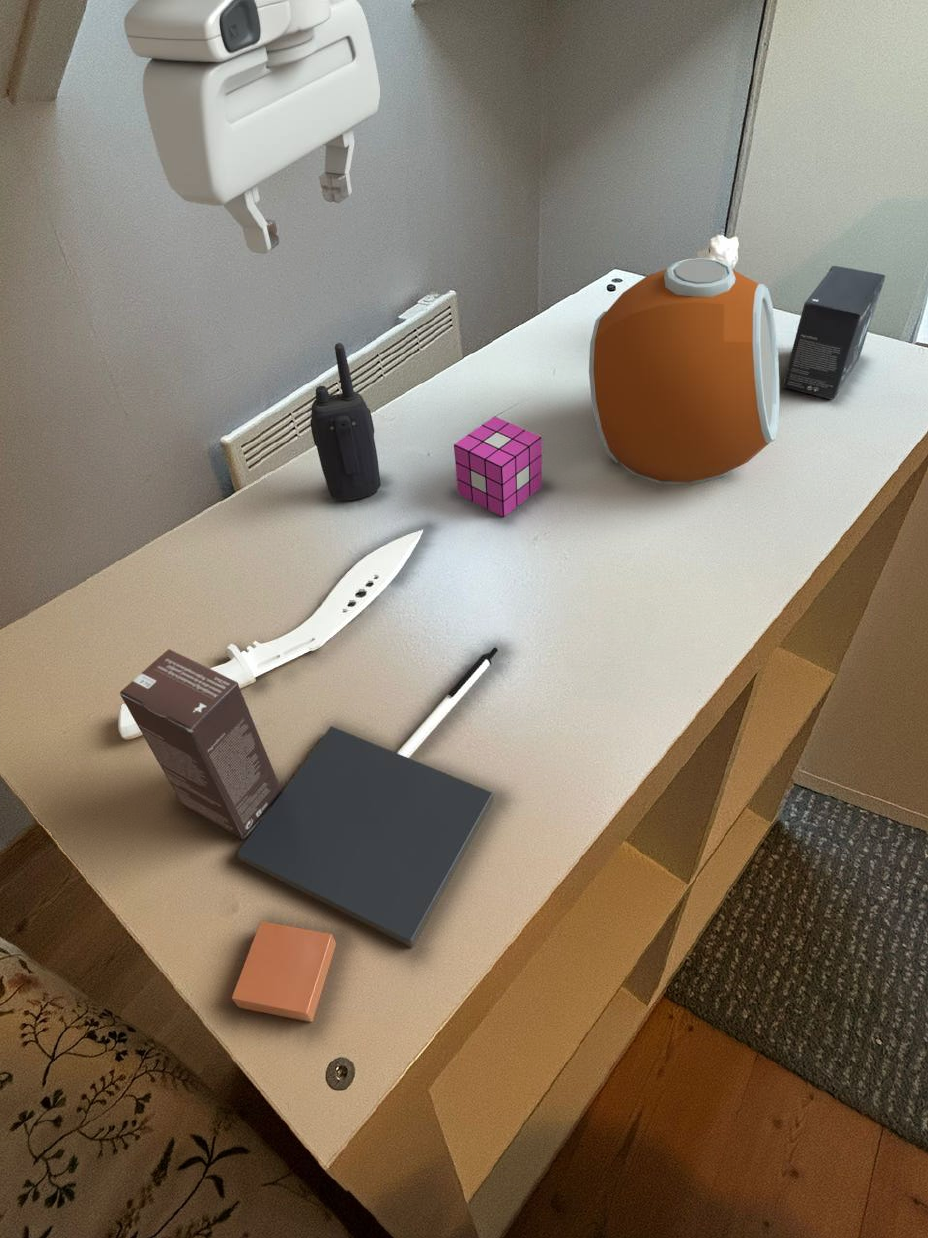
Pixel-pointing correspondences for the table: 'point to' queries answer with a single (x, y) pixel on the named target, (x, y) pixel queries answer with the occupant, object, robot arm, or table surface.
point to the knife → (310, 621)
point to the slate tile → (368, 833)
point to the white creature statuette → (721, 250)
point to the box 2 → (832, 331)
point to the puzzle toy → (498, 465)
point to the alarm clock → (686, 373)
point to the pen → (446, 704)
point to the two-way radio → (345, 438)
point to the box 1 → (204, 741)
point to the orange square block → (285, 971)
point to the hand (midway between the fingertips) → (303, 222)
